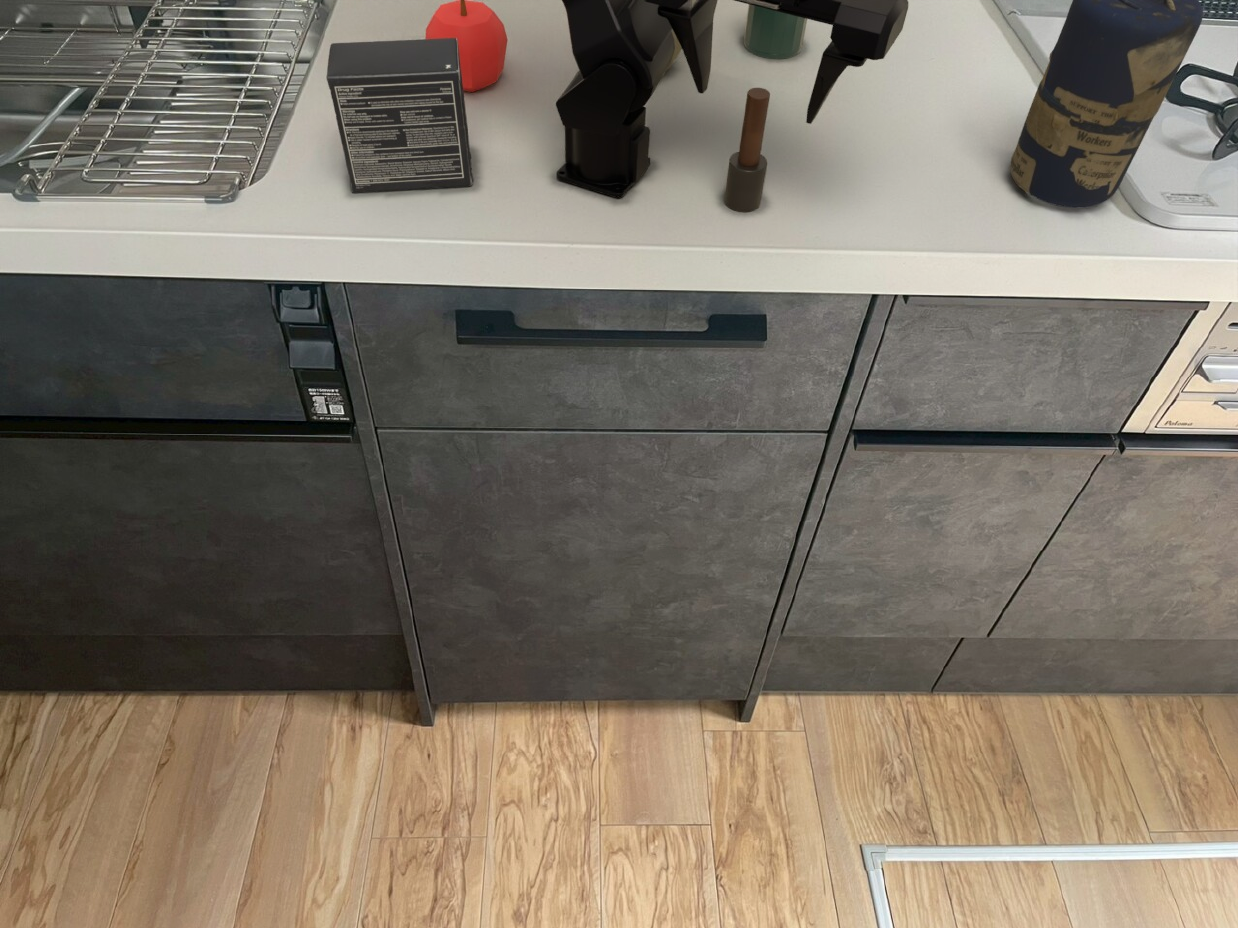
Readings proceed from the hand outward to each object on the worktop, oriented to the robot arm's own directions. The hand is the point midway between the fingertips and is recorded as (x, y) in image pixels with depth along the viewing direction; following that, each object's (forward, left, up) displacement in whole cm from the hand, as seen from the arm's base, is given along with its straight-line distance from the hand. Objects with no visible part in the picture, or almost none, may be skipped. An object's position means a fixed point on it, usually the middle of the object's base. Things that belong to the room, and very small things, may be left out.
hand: (755, 106), depth 75 cm
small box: (-27, -10, -9) cm, 31 cm away
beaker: (-7, +29, -9) cm, 31 cm away
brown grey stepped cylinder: (0, 0, -9) cm, 9 cm away
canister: (+25, +16, -9) cm, 31 cm away
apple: (-31, +6, -9) cm, 33 cm away
